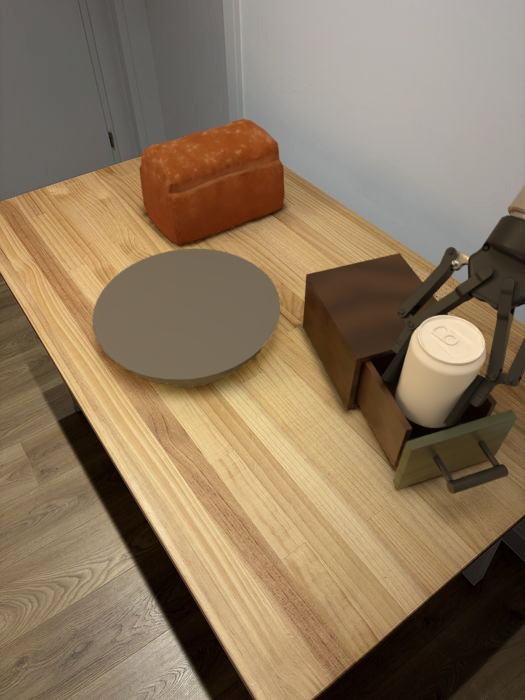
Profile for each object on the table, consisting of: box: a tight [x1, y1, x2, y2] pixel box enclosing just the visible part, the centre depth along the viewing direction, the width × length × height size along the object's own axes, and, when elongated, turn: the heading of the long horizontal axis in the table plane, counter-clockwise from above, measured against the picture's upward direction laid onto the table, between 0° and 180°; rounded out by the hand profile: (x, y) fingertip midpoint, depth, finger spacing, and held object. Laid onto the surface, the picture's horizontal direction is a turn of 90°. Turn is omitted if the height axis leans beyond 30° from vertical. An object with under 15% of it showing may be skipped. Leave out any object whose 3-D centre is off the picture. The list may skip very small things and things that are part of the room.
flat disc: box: [92, 248, 281, 389], centre depth 85 cm, size 28×28×4 cm
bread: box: [138, 118, 286, 245], centre depth 102 cm, size 17×24×15 cm
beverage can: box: [395, 314, 487, 428], centre depth 64 cm, size 8×8×12 cm
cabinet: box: [302, 252, 449, 411], centre depth 78 cm, size 17×15×11 cm
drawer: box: [355, 353, 518, 495], centre depth 68 cm, size 20×14×9 cm
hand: (416, 401), depth 64 cm, fingers closed on beverage can, 8 cm apart
